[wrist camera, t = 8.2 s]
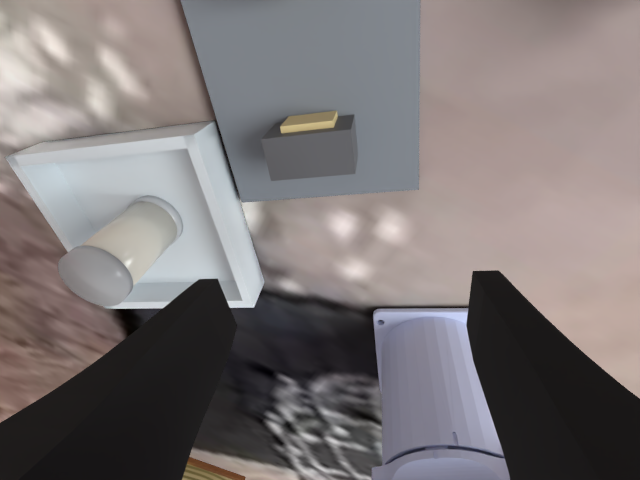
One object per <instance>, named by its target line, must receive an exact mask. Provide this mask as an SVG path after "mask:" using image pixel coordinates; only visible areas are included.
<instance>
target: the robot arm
mask: <svg viewBox="0 0 640 480" xmlns="http://www.w3.org/2000/svg"><path fill="white" fill-rule="evenodd" d="M379 320H383V321H379ZM373 322H374V333H375V344H376V355H377V366H378V377H379V388H380V392H381V393H382V466H379V467H373V468H372V480H640V399H639V398H638V397H637V396H635V395H634V394H633V393H631V392H630V391H629V390H627V389H626V388H625V387H624V386H622V385H621V384H620V383H619V382H617V381H616V380H615V379H614V378H613V377H611V376H610V375H609V374H608V373H607V372H605V371H604V370H603V369H602V368H601V367H599V366H598V365H597V364H596V363H595V362H594V361H592V360H591V359H590V358H589V357H588V356H587V355H585V354H584V353H583V352H582V351H581V350H580V349H579V348H578V347H576V346H575V345H574V344H573V343H572V342H571V341H570V340H569V339H568V338H567V337H565V336H564V335H563V334H562V333H561V332H560V331H559V330H558V329H557V328H556V327H555V326H554V325H553V324H552V323H551V322H549V321H548V320H547V319H546V318H545V317H544V316H543V315H542V314H541V313H540V312H539V311H538V310H537V309H536V308H535V307H534V306H533V305H532V304H531V303H530V302H529V301H528V300H527V299H526V298H525V297H524V296H523V295H522V294H521V293H520V292H519V291H518V290H517V289H516V288H515V287H514V286H513V285H512V284H511V283H510V281H509V280H508V279H507V278H506V277H505V276H504V275H503V274H502V273H501V272H499V271H473V275H472V283H471V291H470V299H469V307H468V308H411V309H376V310H375V311H374V312H373ZM236 328H237V324H236V322H235V319H234V317H233V315H232V312H231V310H230V307H229V305H228V302H227V300H226V298H225V295H224V293H223V290H222V288H221V285H220V283H219V281H218V279H199V280H198V281H196V282H195V283H193V284H192V285H191V286H190V287H188V288H187V289H186V290H185V291H183V292H182V293H181V294H180V295H178V296H177V297H176V298H175V299H174V300H172V301H171V302H170V303H169V304H168V305H166V306H165V307H164V308H163V309H162V310H160V311H159V312H158V313H157V314H156V315H154V316H153V317H152V318H151V319H150V320H148V321H147V322H146V323H145V324H143V325H142V326H141V327H140V328H139V329H137V330H136V331H135V332H134V333H132V334H131V335H130V336H128V337H127V338H126V339H125V340H123V341H122V342H121V343H119V344H118V345H117V346H116V347H114V348H113V349H112V350H110V351H109V352H108V353H106V354H105V355H104V356H103V357H101V358H100V359H99V360H97V361H96V362H94V363H93V364H92V365H90V366H89V367H87V368H86V369H85V370H83V371H82V372H80V373H79V374H77V375H76V376H74V377H73V378H71V379H70V380H68V381H67V382H66V383H64V384H63V385H61V386H60V387H58V388H57V389H55V390H53V391H52V392H50V393H49V394H47V395H46V396H44V397H42V398H41V399H39V400H37V401H36V402H34V403H32V404H31V405H29V406H27V407H26V408H24V409H23V410H21V411H19V412H18V413H16V414H14V415H13V416H11V417H9V418H8V419H6V420H4V421H3V422H1V423H0V480H182V478H183V475H184V472H185V468H186V465H187V462H188V459H189V455H190V452H191V449H192V446H193V443H194V441H195V438H196V435H197V433H198V430H199V428H200V425H201V423H202V420H203V418H204V416H205V413H206V411H207V408H208V406H209V404H210V401H211V399H212V396H213V394H214V392H215V389H216V387H217V385H218V382H219V380H220V377H221V375H222V372H223V370H224V367H225V365H226V362H227V360H228V357H229V354H230V350H231V347H232V343H233V340H234V336H235V332H236Z"/></svg>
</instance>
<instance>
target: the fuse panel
mask: <svg viewBox="0 0 640 480" xmlns="http://www.w3.org/2000/svg"><path fill="white" fill-rule="evenodd" d="M181 3H182V7H183V10H184V13H185V17H186V20H187V23H188V27H189V30H190V33H191V36H192V40H193V43H194V46H195V50H196V53H197V56H198V60H199V63H200V66H201V69H202V73H203V76H204V79H205V83H206V86H207V89H208V93H209V96H210V99H211V102H212V106H213V109H214V112H215V116H216V119H217V122H218V126H219V129H220V132H221V135H222V139H223V142H224V145H225V149H226V152H227V155H228V159H229V162H230V165H231V168H232V172H233V175H234V178H235V182H236V185H237V188H238V192H239V195H240V198H241V201H242V202H254V201H268V200H281V199H295V198H309V197H323V196H336V195H350V194H364V193H378V192H391V191H405V190H419V95H420V0H181Z"/></svg>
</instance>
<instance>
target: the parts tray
mask: <svg viewBox="0 0 640 480" xmlns="http://www.w3.org/2000/svg"><path fill="white" fill-rule="evenodd" d="M5 158H6V160H7V161H8V163H9V164H10V166H11V167H12V169H13V170H14V172H15V173H16V175H17V176H18V178H19V179H20V181H21V182H22V184H23V185H24V187H25V188H26V190H27V191H28V193H29V194H30V196H31V197H32V199H33V200H34V202H35V203H36V205H37V206H38V208H39V209H40V211H41V212H42V214H43V215H44V217H45V218H46V220H47V221H48V223H49V224H50V226H51V227H52V229H53V230H54V232H55V233H56V235H57V236H58V238H59V239H60V241H61V242H62V244H63V245H64V247H65V248H66V250H67V251H68V252H69V251H70V250H72V249H73V248H75V247H78V246H80V245H82V244H83V243H84V242H86V241H87V240H88V239H89V238H91V237H92V236H93V235H94V234H96V233H97V232H98V231H99V230H101V229H102V228H103V227H105V226H106V225H107V224H108V223H110V222H111V221H112V220H113V219H115V218H116V217H117V216H118V215H120V214H121V213H122V212H124V211H125V210H126V209H127V207H128V206H129V205H130V204H131V203H132V202H133V201H135V200H136V199H137V198H139V197H141V196H147V195H150V196H156V197H159V198H161V199H164V200H165V201H167V202H168V203H170V204H171V205H172V206H173V207H174V208H175V209H176V210H177V211H178V213H179V214H180V216H181V218H182V221H183V232H182V234H181V236H180V237H179V238H178V239H177V240H176V241H175V242H174V243H173V244H172V245H170V246H169V247H168V248H167V249H166V250H165V251H164V252H163V254H162V255H161V256H160V257H159V258H158V259H157V260H156V261H155V263H154V264H153V265H152V266H151V267H150V268H149V269H148V270H147V272H146V273H145V274H144V275H143V276H142V277H141V278H140V279H139V281H138V282H137V283H136V284H135V285H134V286H133V289H132V291H131V293H130V294H129V295H128V296H127V297H126V298H125V299H124V300H123V302H121V303H120V304H118V305H115V306H104V307H105V309H125V308H164V307H165V306H166V305H168V304H169V303H170V302H171V301H172V300H174V299H175V298H176V297H177V296H178V295H180V294H181V293H182V292H183V291H185V290H186V289H187V288H188V287H190V286H191V285H192V284H193V283H195V282H196V281H198V280H199V279H218V281H219V283H220V285H221V288H222V290H223V293H224V295H225V298H226V300H227V302H228V305H229V307H230V308H254V306H255V304H256V301H257V299H258V297H259V294H260V292H261V289H262V287H263V285H264V279H263V276H262V272H261V269H260V266H259V262H258V259H257V256H256V253H255V249H254V246H253V243H252V240H251V236H250V233H249V230H248V227H247V223H246V220H245V217H244V213H243V210H242V207H241V204H240V200H239V197H238V194H237V191H236V187H235V184H234V181H233V177H232V174H231V171H230V168H229V164H228V161H227V158H226V155H225V151H224V148H223V145H222V142H221V138H220V135H219V132H218V128H217V125H216V122H215V120H214V121H206V122H198V123H190V124H182V125H174V126H166V127H159V128H151V129H143V130H135V131H127V132H119V133H111V134H103V135H95V136H87V137H79V138H71V139H63V140H55V141H47V142H41V143H39V144H36V145H34V146H31V147H29V148H26V149H24V150H21V151H19V152H16V153H13V154H11V155H8V156H6V157H5Z"/></svg>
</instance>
